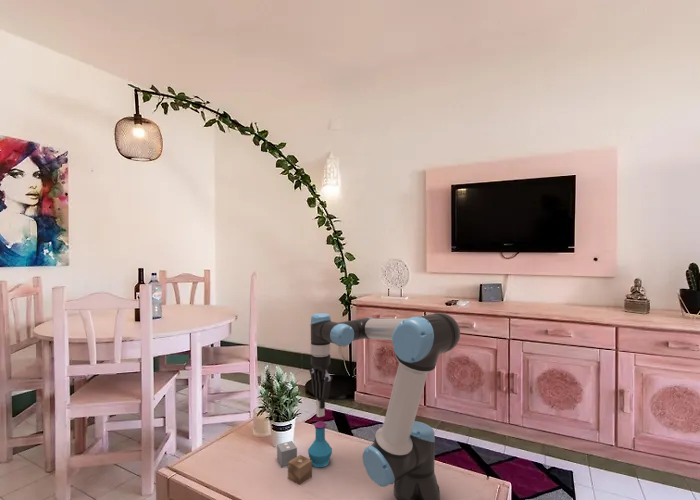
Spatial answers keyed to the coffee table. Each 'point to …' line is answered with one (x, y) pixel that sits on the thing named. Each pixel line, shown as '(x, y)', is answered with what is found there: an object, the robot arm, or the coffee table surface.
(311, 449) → the perfume bottle
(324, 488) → the coffee table surface
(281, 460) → the slate block
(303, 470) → the walnut block
